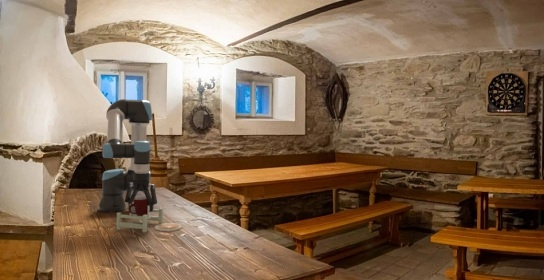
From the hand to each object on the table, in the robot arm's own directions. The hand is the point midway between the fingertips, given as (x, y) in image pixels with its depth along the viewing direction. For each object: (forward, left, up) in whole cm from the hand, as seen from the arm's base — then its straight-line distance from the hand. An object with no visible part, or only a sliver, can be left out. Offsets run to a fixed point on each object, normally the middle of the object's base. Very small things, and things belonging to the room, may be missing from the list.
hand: (140, 217), depth 203 cm
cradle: (0, 0, -5) cm, 5 cm away
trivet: (+14, +2, -5) cm, 15 cm away
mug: (0, 0, -1) cm, 1 cm away
